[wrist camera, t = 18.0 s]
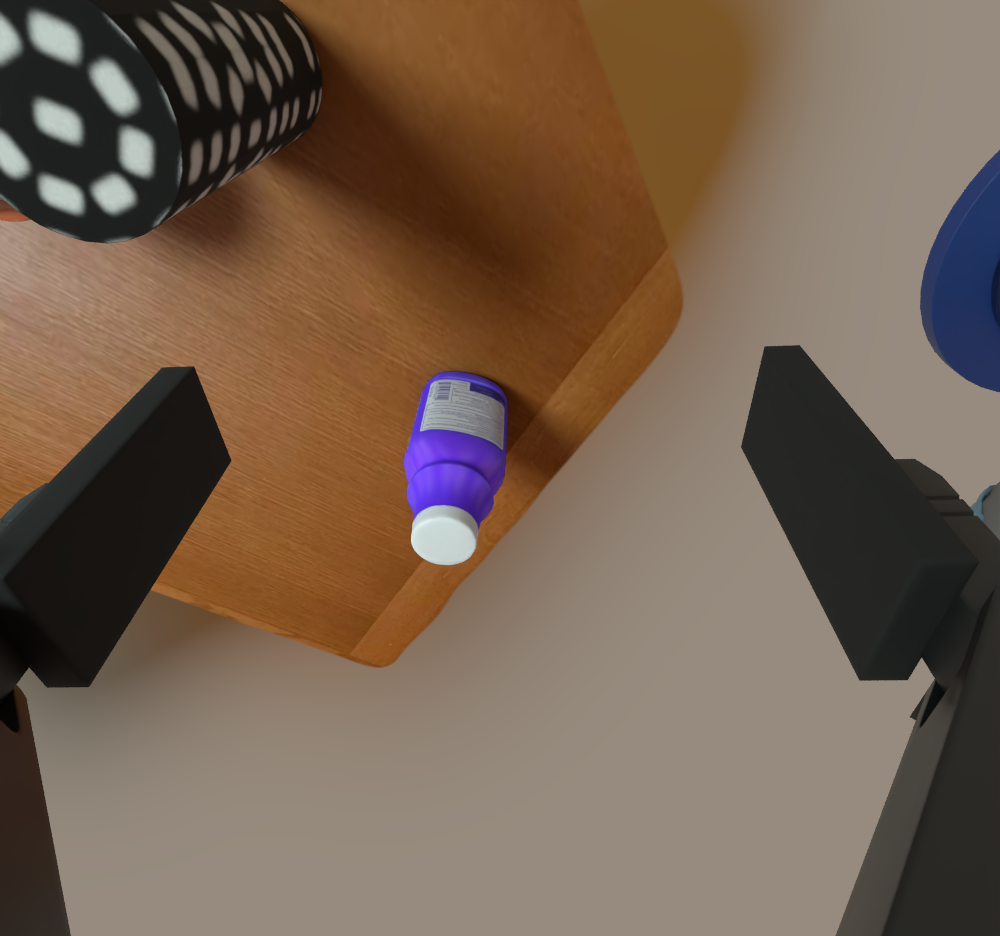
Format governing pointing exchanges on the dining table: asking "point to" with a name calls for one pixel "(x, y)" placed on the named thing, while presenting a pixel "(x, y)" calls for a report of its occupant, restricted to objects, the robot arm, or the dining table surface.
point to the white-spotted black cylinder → (144, 105)
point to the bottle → (455, 463)
